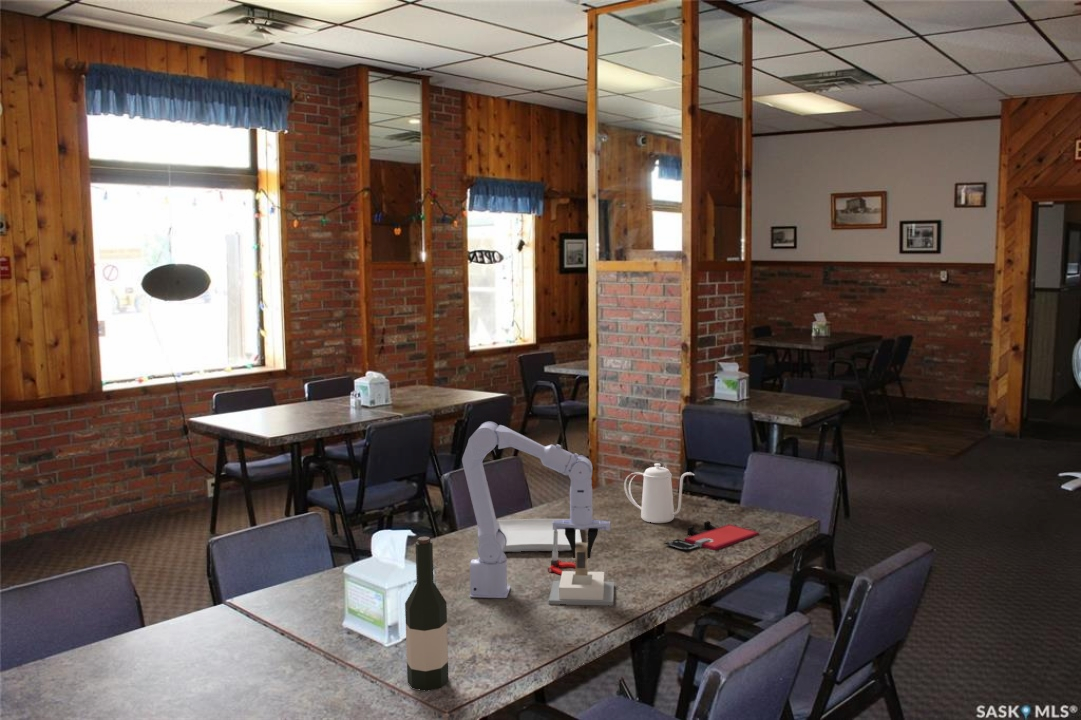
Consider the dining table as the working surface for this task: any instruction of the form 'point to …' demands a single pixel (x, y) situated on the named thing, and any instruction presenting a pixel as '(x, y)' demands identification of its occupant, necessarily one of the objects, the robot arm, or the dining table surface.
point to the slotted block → (582, 589)
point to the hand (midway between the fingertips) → (581, 557)
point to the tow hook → (555, 561)
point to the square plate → (534, 535)
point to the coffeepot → (657, 494)
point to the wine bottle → (426, 625)
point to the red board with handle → (713, 537)
